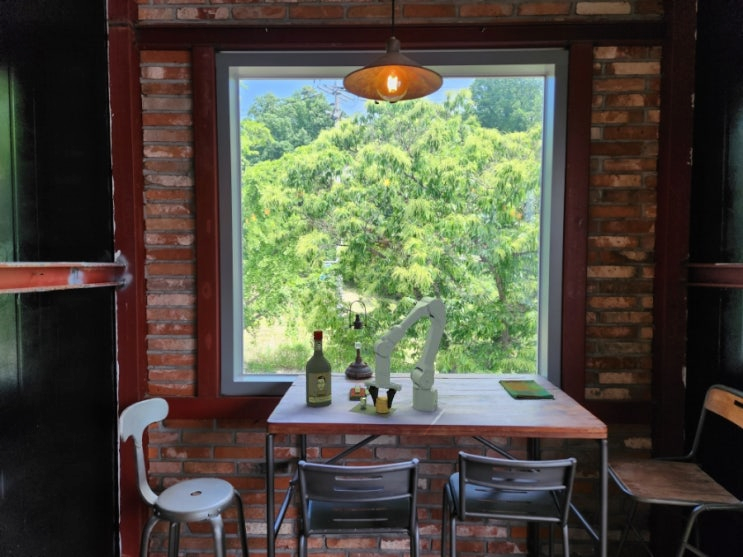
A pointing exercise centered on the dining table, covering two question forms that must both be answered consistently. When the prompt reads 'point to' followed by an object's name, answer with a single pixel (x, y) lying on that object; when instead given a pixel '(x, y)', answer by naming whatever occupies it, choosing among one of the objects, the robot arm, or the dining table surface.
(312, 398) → the liquor
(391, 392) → the robot arm
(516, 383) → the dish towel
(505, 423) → the dining table surface
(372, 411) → the board
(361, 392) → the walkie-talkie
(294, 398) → the dining table surface
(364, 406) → the post
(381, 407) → the cap
